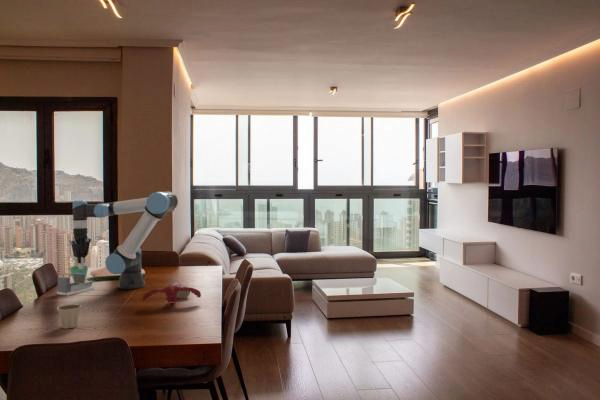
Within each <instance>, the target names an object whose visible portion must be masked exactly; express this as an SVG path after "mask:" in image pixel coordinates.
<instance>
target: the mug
mask: <svg viewBox="0 0 600 400" xmlns="http://www.w3.org/2000/svg"><path fill="white" fill-rule="evenodd" d="M69 269H70V273H71V277H72V280H73V281H74V273H81V274H85V280H86V278H87V275H88V271H89V270H88V269H89V266H88V265H84V269H79V267H78V265H75V266H71V267H69Z"/></svg>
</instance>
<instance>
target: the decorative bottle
mask: <svg viewBox="0 0 600 400" xmlns="http://www.w3.org/2000/svg"><path fill="white" fill-rule="evenodd" d="M168 286H178V287H182V288H183V287H184V288H185V287H187V286H185V285H184V284H183V283H180V282H178V281H172V282H169V283H168V284H167V287H168ZM190 295H191V292H189V291H185V290H184V291H179V292H178V293H177V297H179V298H178V299H180V300H186V298H187V299H188V297H189V296H190Z"/></svg>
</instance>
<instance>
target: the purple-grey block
mask: <svg viewBox="0 0 600 400" xmlns="http://www.w3.org/2000/svg"><path fill="white" fill-rule="evenodd" d="M75 282H78V283H75ZM71 283H72V284H70V286H73V285H77V284H82V283H86V279H85V274H81V273H74V280H73V282H71Z"/></svg>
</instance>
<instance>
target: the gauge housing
mask: <svg viewBox="0 0 600 400" xmlns="http://www.w3.org/2000/svg"><path fill="white" fill-rule="evenodd" d="M72 283H73V282H71V277H68V276H57V292H56V294H57V295H62V296H66V295H67V297H68V296H71V295H76V294H80V293H83V292H84V293H85V292H89V291H93V290H95V286H93V285H92V284H93V283H92V281H85V283H82V284H77V285H73V286H70V284H72ZM74 283H78V282H74Z"/></svg>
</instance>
